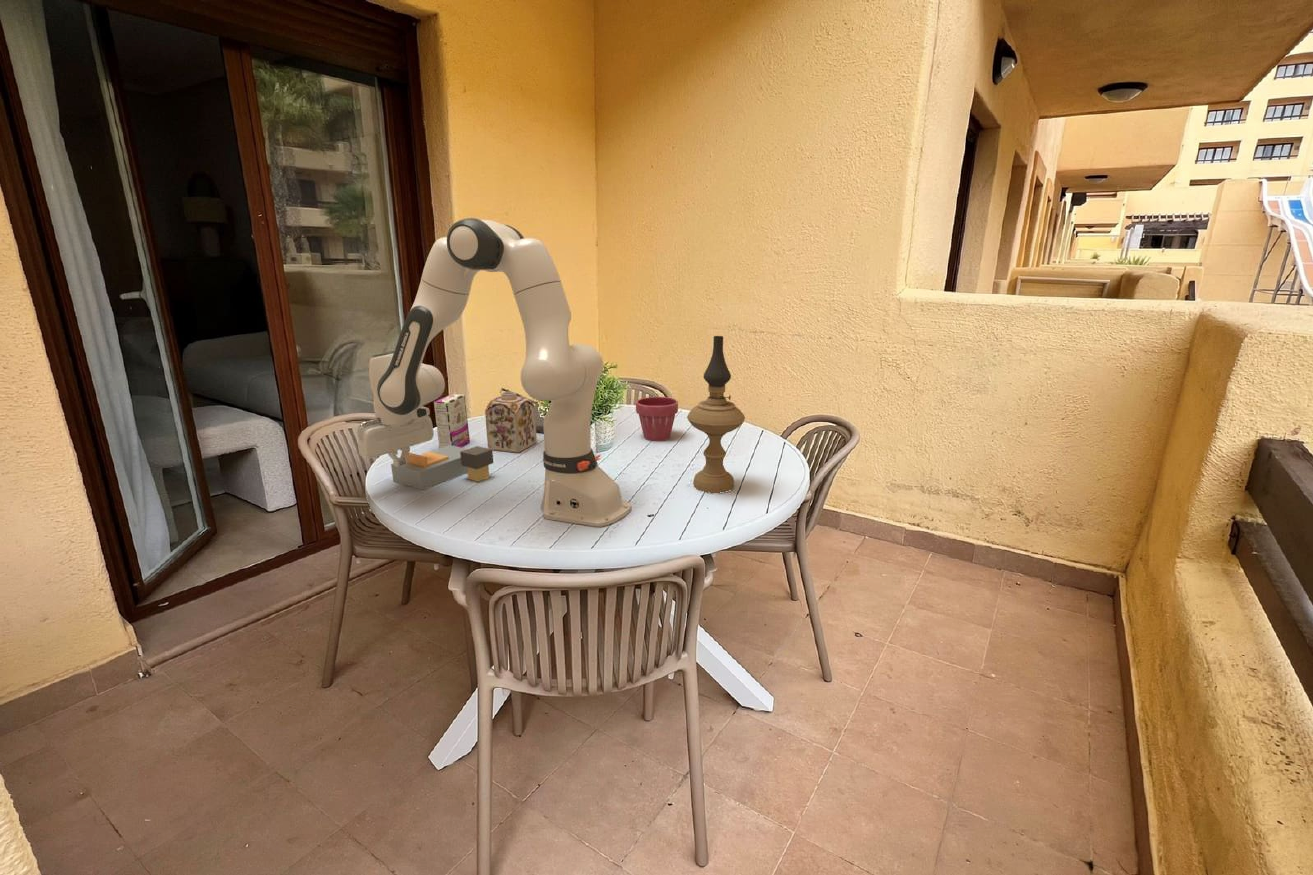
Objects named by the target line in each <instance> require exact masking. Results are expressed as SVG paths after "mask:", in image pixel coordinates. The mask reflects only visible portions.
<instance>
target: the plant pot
mask: <svg viewBox="0 0 1313 875" xmlns="http://www.w3.org/2000/svg"><path fill="white" fill-rule="evenodd" d="M635 412H636V414H637V415H638V418H639V421H640V427H641V430H642V434H643V435H642V436H643V438H644V439H645V440H648V441H654V442H655V441H656V442H658V441H659V442H660V441H666V440H669V439H670V438H671V435H672V430H673V426H674V421H675V417H676V414H678V412H679V401H678V400H677V399H675V398H673V397H668V396H667V397H666V396H649V397H647V396H646V397H643V398H642V397H641V398H639V399H637V400H636V401H635Z"/></svg>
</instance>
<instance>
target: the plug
mask: <svg viewBox="0 0 1313 875" xmlns="http://www.w3.org/2000/svg"><path fill="white" fill-rule="evenodd" d="M466 449H467V450H464V451H461V452H460V455H461V465H462V466H465V467H467V471H468V472H467V479H468V480H471V481H476V482H480V481H483V480H486V479H487V478H490V469H489V466H490V465H492V464H494V455H493V452H494V451H493V450H492V449H488V447H483V446H478V445H476V446H473V447H471V448H466Z"/></svg>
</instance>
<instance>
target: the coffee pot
mask: <svg viewBox="0 0 1313 875" xmlns="http://www.w3.org/2000/svg"><path fill="white" fill-rule="evenodd" d="M503 392H513V391H512V390H509V389H505V388H503V387H502V388H501V389H500V391H499V393H503ZM516 395H517V396H523V395H521V394H519V393H517V392H516ZM526 398H527V399H529V400H530V401H531V402H532V403H533V404H534V406H535V420H536V433H544V427H543V421H544V418H543V417H540V415H539V412H538V407H539V404H538V402H537V400H533V399H532V398H528V397H526Z"/></svg>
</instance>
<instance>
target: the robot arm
mask: <svg viewBox="0 0 1313 875" xmlns="http://www.w3.org/2000/svg"><path fill="white" fill-rule="evenodd" d="M480 271H483V272H487V273H497V272H498V273H499V272H502V273H503V274H505V276H506V277H507V279H508V281H509V285H510V286H511V289H512V293H513V297H514V299H515V303H516V306H517V308H518V309H517V310H518V312H519V315H520V319H521V322H522V325H523V329H524V331H523V332H524V337H525V359H524V360H525V361H524V362H523V366H522V368H521V371H520V382H521V386H522V387H523V391H525V393H526V394H527V395H528V396H529V397H530V398H531V399H532V398H533V399H534V400H535V401H537V400H540V401H551V403H550V407H549V410H548V412H547V413H546V415H545V418H544V421H543V427H544V432H543V440H544V441H543V442H544V450H543V452H542V455H543V456H542V457H543V459H542V462H543V467H544V468H545V475H544V488H543V490H544V491H543V496H542V501H541V504H540V508H541V510H542V511H543V512H542V517H543V519H546V520H554V521H560V522H566V523H571V524H577V525H578V524H579V525H584V526H590V527H596V528H600V527H604V526H608V525H611V524H614V523H616V522H618V521H619V520H621V519H622V518H624V517H625V516H627V515H628V514H629V513H630V511H631V510H632V503H631V502H628V501H626V500H624V499H622V492H621V489H620V486H619V484H618V483H617V482H616V481H615V480H614V479H612V477H610V476H609V475H608V474H607V473H606V472H605V471H604V470H603V469H602V468H601V467H600V466H599V464H598V461H599V460H601V459H602V458H601V454H599V455H596V456H595V453H594V451H593V449H592V445H591V444H592V442H591V441H592V438H591V437H592V436H591V422H592V420H591V419H592V418H591V417H592V412H593V411H592V409H593V405H594V400H595V395H596V389H597V386H598V382H599V379H600V378H601V376H602V374H603V371H604V361H603V358H602V355H601V354H600V352H599V351H598V349H596V348H594V347H593V346H590V345H585V344H578V343H574V344H570V340H569V326H570V323H571V320H572V311H571V309H570V306H569V303H568V298H567V296H566V293H565V289H564V286H563V282H562V280H561V278H560V277H561V276H560V274H559V272H558V269H557V266H556V264H555V262H554V260H553V258H552V255H551V254H550V252H549V250H548V248H547V246H546V245H545V244H544V242H542V240H539V239H537V238H531V237H524V236H523V234H522V233H521V232H520V231H519V230H518V229H516V228H514V227H513V226H511V225H508V224H503V223H500V222H497V221H495V220H491V219H482V218H480V219H479V218H475V217H471V218H470V217H468V218H463V219H460V220H458V221H456V222H455V223H453V224H452V225H451V226H450V227H449V230H448V232H447V236H444V237H439V238H438V239H437V240H436V241H434V243H433V245H432V247H431V249H430V251H429V254H428V256H427V258H426V261H425V265H424V267H423V271H422V273H421V277H420V283H419V286H418V288H417V289H418V290H417V293H416V295H415V299H414V301H413V303H412V306H411V308H410V310H409V312H408V314H407V316H406V318H405V320H404V323H403V325H402V328H401V330H400V334H399V337H398V339H397V343H396V345H395V348H394V350H391V351H386V352H381V353H376V354H374V355H372V356H371V358H369V364H368V369H369V370H368V372H369V381H370V382H369V384H370V388H371V391H372V394H373V410H374V419H370V420H365V421H362V422H361V424H360V425H359V426H358V427H357V430H356V433H357V437H358V438H357V442H358V444H357V447H358V454H359V456H361V457H362V458H365V459H369V460H371V459H374V458H378V457H380V456H384V455H388V456H389V457H390V458H391V460H392V461H393V463H394V466H396V467H398V466H401V465H404V464H407V463H408V462H407V457H408V454H409V453H411V452H410V451H411V448H410V447H413V446H417V445H420V444H422V443H426V442H430V441H432V440H433V438H434V435H435V434H434V426H433V422H432V419H431V417H430V412H431V411H430V409H429V407H425V405H428V404H429V403H431V402H435V401H437V400H438V399H439V398H440V397H442V396H443V395H444V392H445V389H446V380H445V377H444V375H443V373H442V372H441V371H440V369H439V368H438V367H436V366H435V365H432V364H427V363H426V364H425V363H423V360H424V358H425V356H426V355H425V354H426V351H427V348H428V346H429V344H430V343H431V341H432V340H433V339H434V338H435V337H436V336H437V335H438V334H439V333H440V332H442V331H443V330H444V329H445V328H447V327H449V326H450V325H452V324H454V323H456V322H457V321H458V320H459V319H460V318H461V317H462V314H463V312H464V311H465V310H466V307H467V304H468V301H469V297H470V293H471V289H472V285H473V282H474V279H475V276H476V275H477V273H479V272H480ZM398 451H401V454H400V457H398V456H397V455H398V454H399V452H398ZM393 463H392V464H393Z"/></svg>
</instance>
